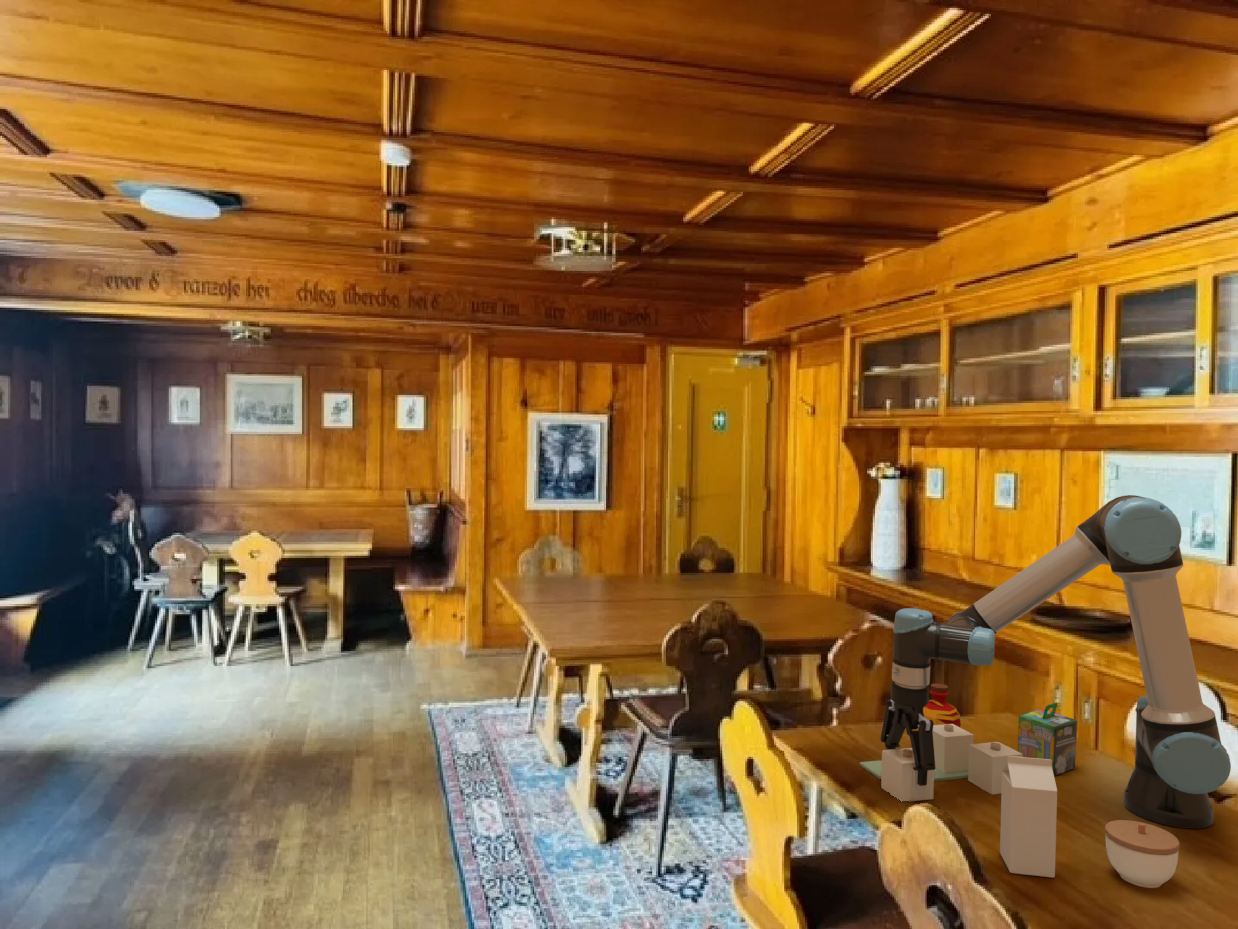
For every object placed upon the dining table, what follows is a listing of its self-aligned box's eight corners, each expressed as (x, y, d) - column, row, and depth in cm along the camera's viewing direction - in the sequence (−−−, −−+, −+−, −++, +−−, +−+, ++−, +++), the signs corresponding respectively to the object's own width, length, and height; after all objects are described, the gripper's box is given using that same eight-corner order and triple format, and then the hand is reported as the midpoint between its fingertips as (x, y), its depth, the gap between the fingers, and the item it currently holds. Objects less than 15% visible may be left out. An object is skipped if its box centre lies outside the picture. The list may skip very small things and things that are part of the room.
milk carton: (1055, 879, 141) (1058, 767, 141) (1009, 874, 143) (1012, 763, 142) (1042, 858, 148) (1045, 752, 148) (999, 854, 150) (1002, 749, 149)
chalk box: (1038, 756, 198) (1040, 694, 198) (1077, 769, 190) (1078, 705, 190) (1015, 763, 193) (1017, 700, 193) (1053, 777, 185) (1055, 711, 185)
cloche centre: (951, 758, 194) (952, 719, 194) (973, 770, 187) (974, 730, 187) (923, 760, 193) (924, 721, 192) (943, 773, 185) (944, 732, 185)
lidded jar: (1149, 863, 147) (1151, 810, 147) (1193, 896, 137) (1195, 839, 136) (1090, 863, 147) (1091, 810, 147) (1129, 896, 136) (1131, 839, 136)
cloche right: (1021, 791, 177) (1022, 749, 177) (991, 794, 176) (992, 752, 175) (997, 777, 185) (998, 737, 184) (968, 780, 183) (969, 739, 183)
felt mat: (984, 776, 185) (984, 773, 185) (889, 785, 179) (889, 783, 179) (950, 756, 197) (950, 754, 197) (859, 765, 191) (859, 762, 191)
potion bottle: (906, 742, 206) (908, 681, 206) (941, 738, 210) (943, 678, 209) (934, 757, 196) (936, 693, 196) (970, 753, 200) (972, 690, 199)
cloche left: (933, 799, 173) (934, 756, 173) (901, 802, 171) (902, 758, 171) (912, 784, 180) (913, 743, 180) (881, 787, 178) (882, 745, 178)
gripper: (866, 669, 184) (862, 769, 186) (925, 701, 163) (919, 814, 165) (896, 667, 186) (891, 766, 187) (958, 699, 165) (952, 811, 167)
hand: (905, 788), depth 176 cm, fingers open, 9 cm apart
